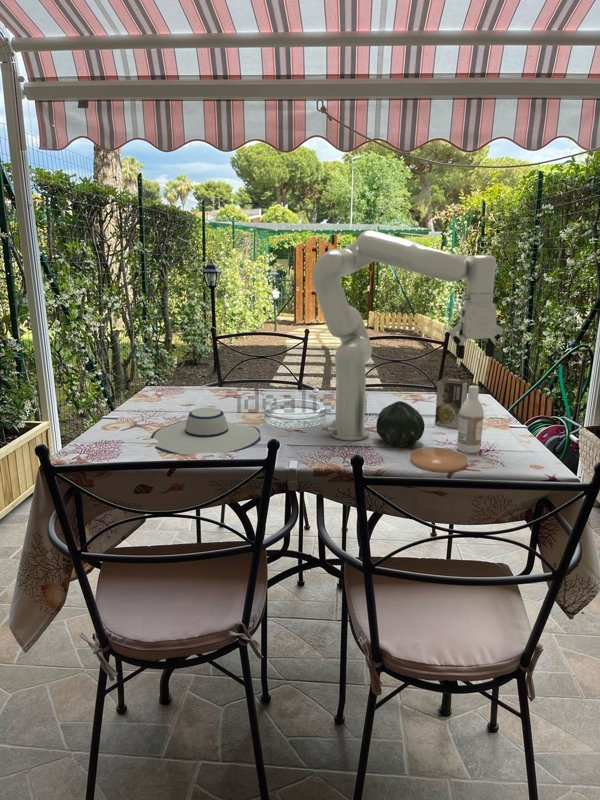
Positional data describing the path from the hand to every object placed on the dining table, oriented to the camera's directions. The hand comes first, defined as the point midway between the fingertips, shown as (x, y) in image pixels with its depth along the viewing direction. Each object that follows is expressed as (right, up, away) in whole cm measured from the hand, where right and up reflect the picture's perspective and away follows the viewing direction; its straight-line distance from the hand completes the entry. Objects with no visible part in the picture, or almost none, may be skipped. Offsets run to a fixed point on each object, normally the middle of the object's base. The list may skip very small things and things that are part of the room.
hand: (474, 357), depth 164 cm
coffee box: (+1, -22, +30) cm, 37 cm away
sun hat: (-83, -25, +17) cm, 88 cm away
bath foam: (0, -28, +6) cm, 29 cm away
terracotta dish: (-12, -31, -4) cm, 33 cm away
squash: (-20, -27, +12) cm, 35 cm away
